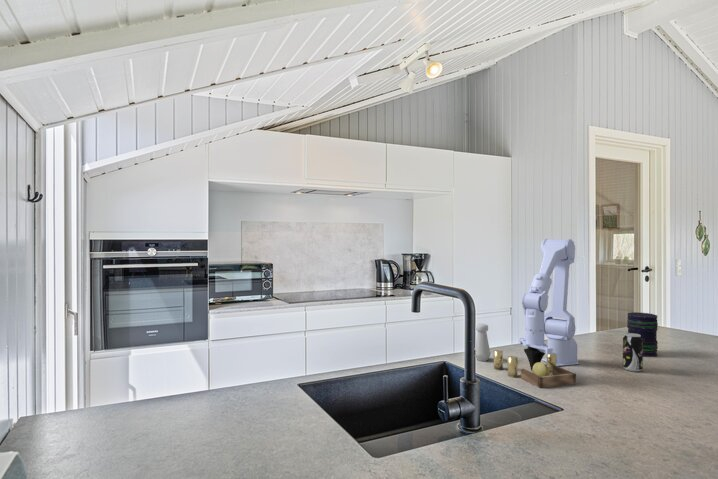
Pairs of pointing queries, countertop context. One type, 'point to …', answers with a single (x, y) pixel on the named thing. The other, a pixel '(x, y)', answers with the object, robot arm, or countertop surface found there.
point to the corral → (550, 378)
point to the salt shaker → (482, 343)
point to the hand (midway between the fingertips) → (534, 371)
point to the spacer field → (513, 362)
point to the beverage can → (632, 352)
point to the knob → (540, 369)
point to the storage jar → (644, 331)
